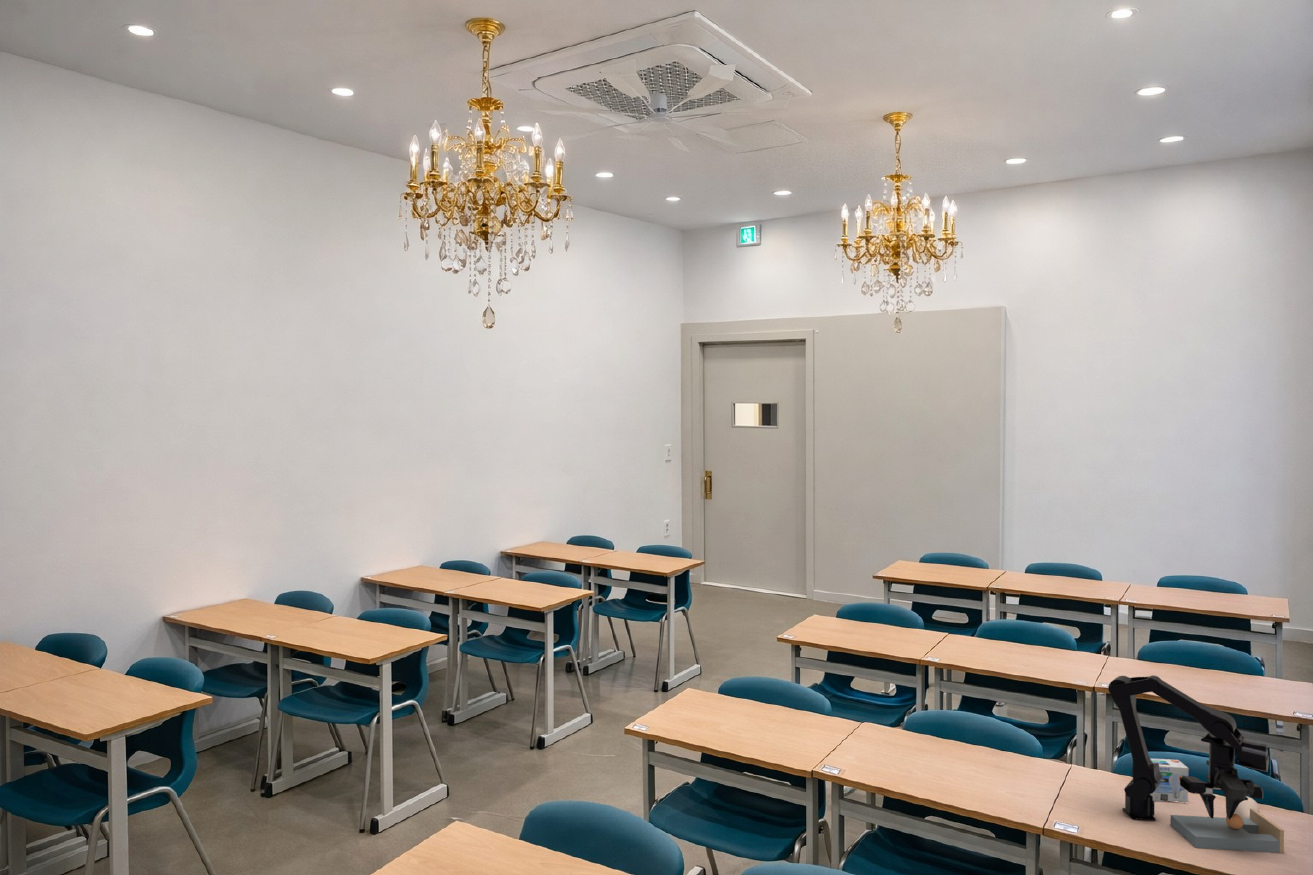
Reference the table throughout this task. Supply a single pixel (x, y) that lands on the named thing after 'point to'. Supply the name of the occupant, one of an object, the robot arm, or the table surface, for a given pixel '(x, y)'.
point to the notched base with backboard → (1231, 833)
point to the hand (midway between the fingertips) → (1220, 818)
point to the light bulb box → (1170, 781)
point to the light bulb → (1246, 808)
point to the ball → (1235, 821)
